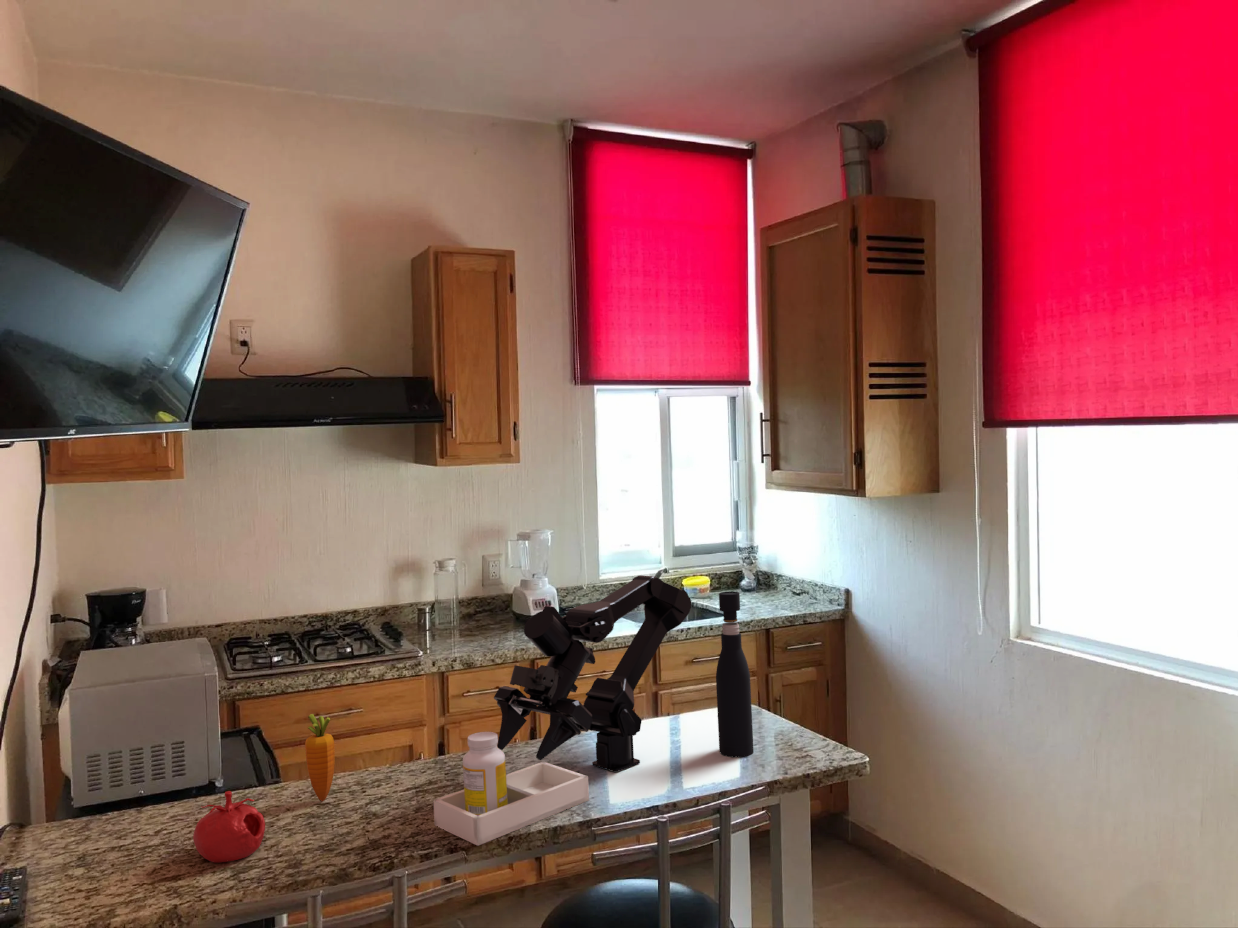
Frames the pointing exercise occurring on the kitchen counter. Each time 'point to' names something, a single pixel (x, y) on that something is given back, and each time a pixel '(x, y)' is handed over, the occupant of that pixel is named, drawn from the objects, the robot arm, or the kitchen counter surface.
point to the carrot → (320, 757)
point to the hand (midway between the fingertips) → (518, 753)
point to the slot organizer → (514, 803)
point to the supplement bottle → (484, 774)
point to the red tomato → (229, 831)
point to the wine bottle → (733, 685)
